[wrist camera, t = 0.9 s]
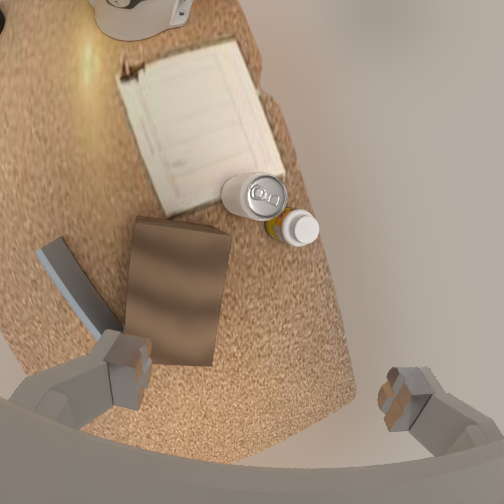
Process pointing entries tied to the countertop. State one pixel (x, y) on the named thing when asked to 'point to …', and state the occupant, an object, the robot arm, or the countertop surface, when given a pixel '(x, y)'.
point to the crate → (176, 289)
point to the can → (255, 196)
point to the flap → (77, 288)
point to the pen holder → (1, 20)
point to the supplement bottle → (293, 227)
